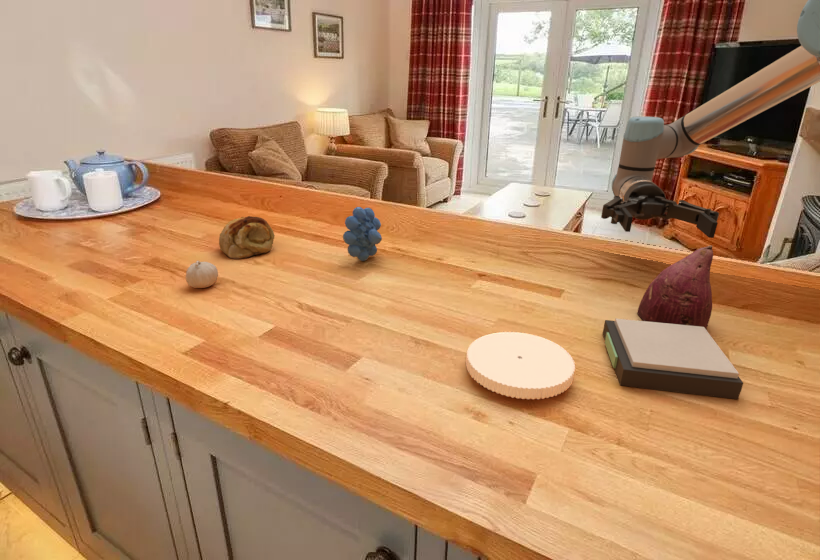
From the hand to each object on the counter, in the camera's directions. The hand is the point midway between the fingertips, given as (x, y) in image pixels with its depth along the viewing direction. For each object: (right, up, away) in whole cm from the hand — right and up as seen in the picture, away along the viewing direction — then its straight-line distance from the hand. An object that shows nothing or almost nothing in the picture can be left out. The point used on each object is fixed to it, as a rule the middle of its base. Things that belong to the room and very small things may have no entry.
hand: (670, 227), depth 85 cm
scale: (-10, -21, -16) cm, 28 cm away
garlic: (-83, -10, +6) cm, 84 cm away
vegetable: (-2, -16, -4) cm, 16 cm away
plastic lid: (-31, -22, -19) cm, 42 cm away
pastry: (-81, -2, +25) cm, 85 cm away
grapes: (-54, -5, +19) cm, 58 cm away
